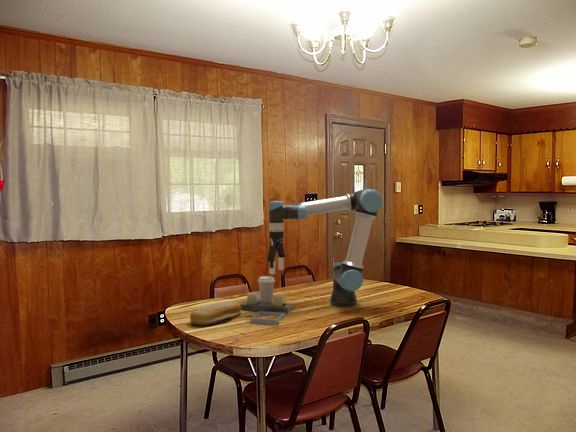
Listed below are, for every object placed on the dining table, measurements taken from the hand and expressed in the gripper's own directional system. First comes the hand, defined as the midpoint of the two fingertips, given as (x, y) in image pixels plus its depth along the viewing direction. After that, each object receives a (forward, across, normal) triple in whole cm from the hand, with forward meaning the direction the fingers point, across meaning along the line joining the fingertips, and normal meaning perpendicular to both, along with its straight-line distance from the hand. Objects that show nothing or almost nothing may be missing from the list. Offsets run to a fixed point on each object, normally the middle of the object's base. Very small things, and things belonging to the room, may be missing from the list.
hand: (276, 271), depth 228 cm
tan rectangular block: (+20, +1, +2) cm, 20 cm away
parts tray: (+21, +16, +1) cm, 26 cm away
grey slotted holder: (+21, +1, -6) cm, 22 cm away
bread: (+21, +23, -23) cm, 39 cm away
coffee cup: (+21, -14, -11) cm, 27 cm away
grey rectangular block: (+20, +2, -12) cm, 24 cm away
